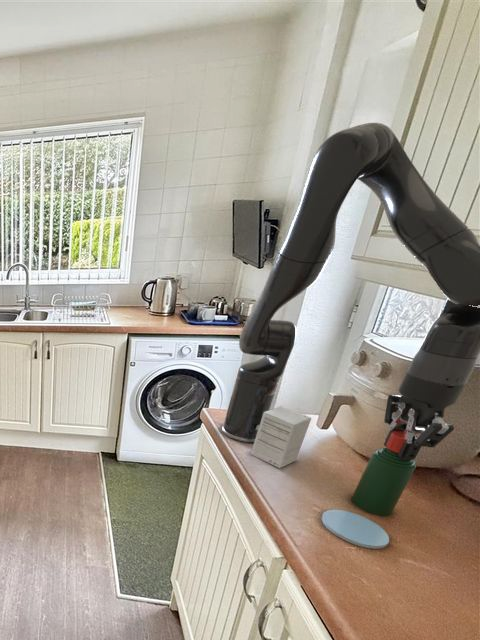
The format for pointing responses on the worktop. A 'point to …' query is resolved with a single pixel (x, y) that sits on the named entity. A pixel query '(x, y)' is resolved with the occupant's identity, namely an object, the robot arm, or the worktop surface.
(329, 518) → the saucer
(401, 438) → the cap
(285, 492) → the worktop surface
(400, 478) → the sauce bottle
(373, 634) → the worktop surface
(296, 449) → the white packaging box
